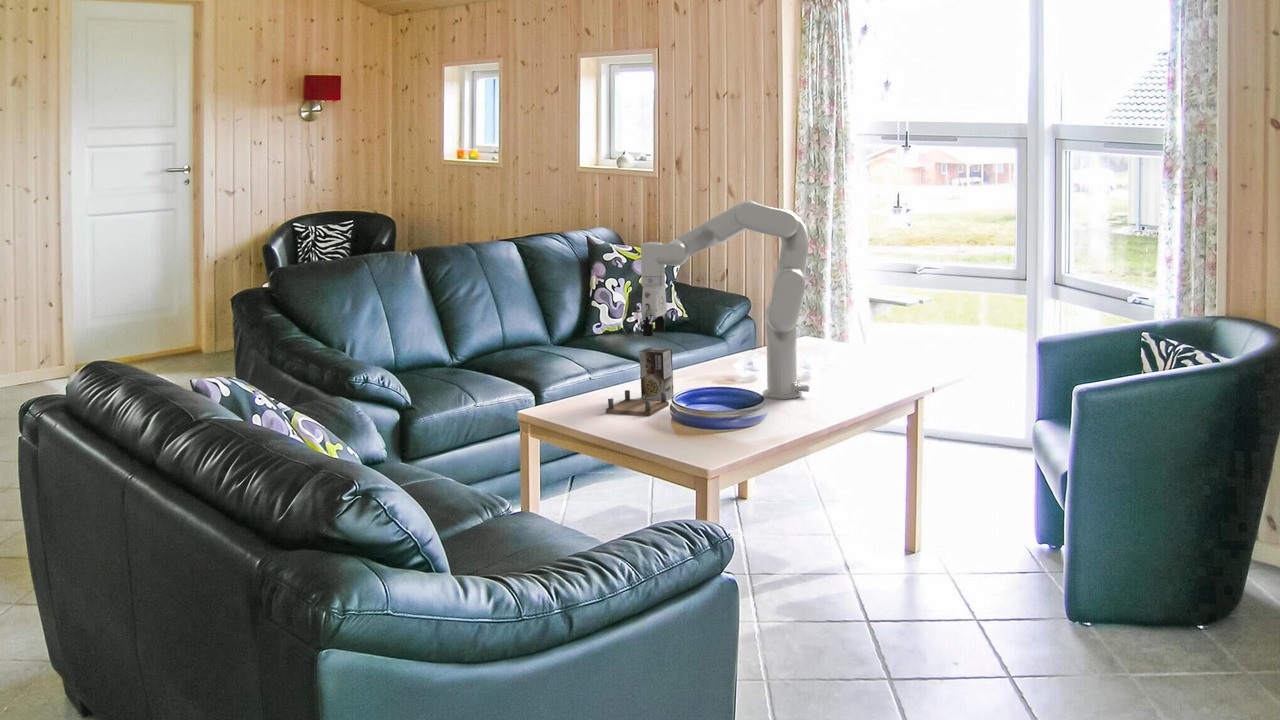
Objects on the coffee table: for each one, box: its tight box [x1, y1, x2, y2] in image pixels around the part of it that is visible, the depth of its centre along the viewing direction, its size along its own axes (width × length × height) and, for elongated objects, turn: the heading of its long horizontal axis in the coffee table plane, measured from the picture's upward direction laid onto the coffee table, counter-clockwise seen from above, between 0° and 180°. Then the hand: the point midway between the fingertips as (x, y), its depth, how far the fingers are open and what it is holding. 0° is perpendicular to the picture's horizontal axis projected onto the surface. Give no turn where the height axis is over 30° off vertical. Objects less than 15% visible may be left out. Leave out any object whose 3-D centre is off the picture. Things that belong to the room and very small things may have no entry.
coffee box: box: [638, 347, 674, 401], centre depth 392 cm, size 9×6×16 cm
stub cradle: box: [605, 389, 670, 417], centre depth 379 cm, size 15×15×4 cm
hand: (654, 333), depth 389 cm, fingers open, 9 cm apart
